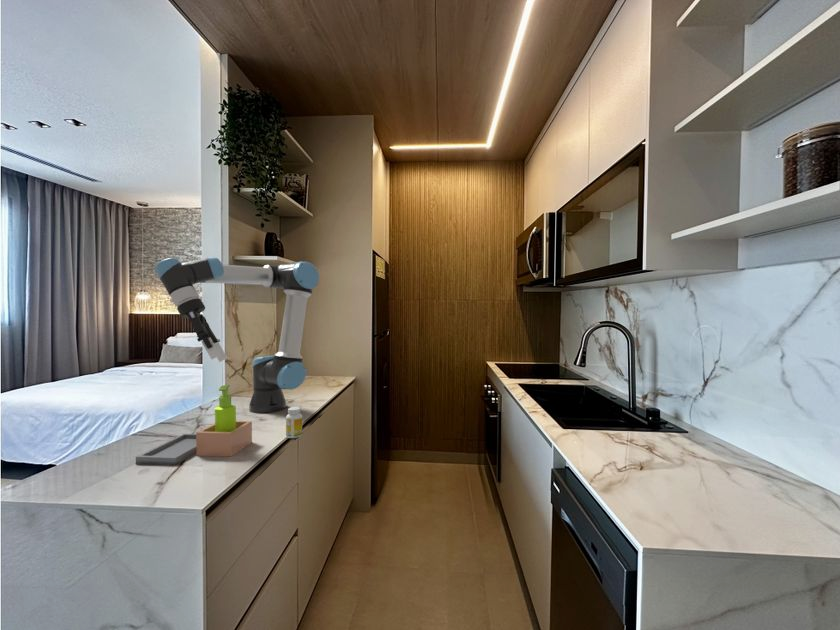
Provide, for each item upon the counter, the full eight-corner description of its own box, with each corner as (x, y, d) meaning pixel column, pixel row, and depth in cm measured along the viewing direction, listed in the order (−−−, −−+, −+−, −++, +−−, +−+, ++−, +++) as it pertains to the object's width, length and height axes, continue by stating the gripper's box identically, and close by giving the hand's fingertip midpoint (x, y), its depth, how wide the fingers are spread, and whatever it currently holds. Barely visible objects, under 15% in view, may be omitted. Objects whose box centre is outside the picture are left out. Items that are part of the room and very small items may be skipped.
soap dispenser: (212, 453, 117) (211, 388, 117) (218, 445, 124) (217, 384, 123) (233, 451, 119) (232, 387, 118) (237, 443, 125) (236, 383, 125)
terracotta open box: (220, 441, 128) (219, 420, 127) (252, 442, 127) (251, 421, 127) (196, 455, 116) (196, 432, 115) (231, 456, 115) (231, 433, 115)
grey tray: (183, 439, 130) (183, 433, 130) (217, 440, 129) (217, 434, 129) (135, 463, 110) (135, 456, 110) (175, 464, 109) (175, 457, 109)
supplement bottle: (284, 438, 130) (283, 410, 130) (288, 433, 135) (287, 406, 135) (300, 438, 130) (300, 410, 130) (303, 433, 136) (303, 406, 136)
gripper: (186, 314, 137) (215, 366, 137) (164, 300, 113) (199, 362, 114) (207, 305, 139) (236, 355, 139) (190, 289, 116) (224, 349, 116)
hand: (220, 358), depth 127 cm, fingers open, 13 cm apart
